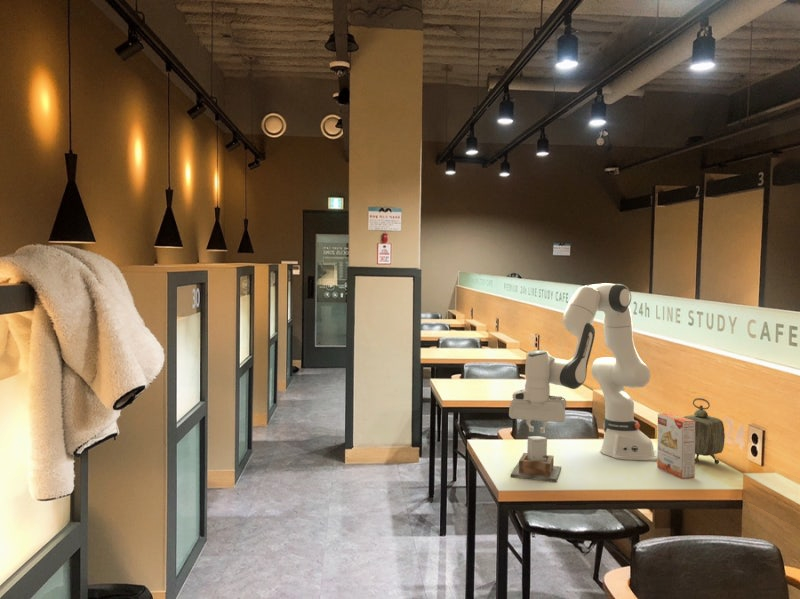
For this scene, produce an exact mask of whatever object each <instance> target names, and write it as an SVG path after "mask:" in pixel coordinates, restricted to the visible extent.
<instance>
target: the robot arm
mask: <svg viewBox="0 0 800 599" xmlns="http://www.w3.org/2000/svg"><path fill="white" fill-rule="evenodd" d="M631 302H632V293H631V290H630V289H629V288H628V286H626V285H624V284H621V283H607V282H604V283H595V284H592V283H591V284H590V283H589V284H586V285H583V286H581V287H578V289H577V290H576V291H575V292H574V294H573V295H572V297H571V298H570V300H569V302H568V304H567V306H566V308H565V310H564V312H563V315H562V324H563V326H564V327H565V329H566V330H567V331H568V332H570V333H571V334H572V335H573V336H575V337H576V338H577V342H576V345H575V349H574V352H573V356H572V357H571V358H570V359H562V358H556V357H554V356H552V355H551V354H549V351H547V350H543V349H537V350H536V349H535V350H532V351H529V352H528V353H527V355H526V358H525V359H526V360H525V368H524V369H525V370H524V375H525V379H526V380H525V384H524V389H520V390H516V391H514V392H513V393H512V400H511V401H510V404H509V409H508V410H509V411H508V416H509V418H511V419H515V420H516V419H517V420H525V424H526V425H527V427H528V432H529V433H534V430H535V429H534V427H535V426H533V425H531V424H532V423H531V421H540V422H542V424H543V427H541V426H540V427H539V433H540V434H545V432H546V431H545V429H546V427H547V425H548V423H549V422H552V423H564V422H565V421H566V407H567V400H566V398H564V397H563V396H558V395H557V396H555V395H550V394H551V392H550V391H551V389H550V388H551V387H550V384H552V385H556V386H562V387H564V388H568V389H572V390H576V389H578V388H579V387H581V386H582V385H583V384H584V383H585V382H586V379H587V372H588V371H587V370H588V365H589V361H590V356H591V353H592V348H593V345H594V340H595V334H596V330H595V328H594V326H593V325H594V324H593V321H594V319H595V317H596V314H597V312H603V336H604V337H603V338H604V340H603V341H604V345H605V346H606V348H607V349H609V351H610V352H611V353H612V354H613V356H614V357H609V356H607V357H606V356H605V357H599V358H596V359H595V360H594V361H593V363H592V365H591V375H592V376H593V379H594V380H596V381H597V383H598V384H599V386H600V388H601V391H602V393H603V397H604V408H605V409H604V415H605V416H604V418H603V433H604V435H603V440H602V441H603V442H602V444H601V449H600V452H601V454H603V455H605V456H609V457H613V458H614V459H617V460H632V461H651V462H654V461H657V453H658V450H654V444H653V442H652V440H651V438H649V437H648V435H646V434H645V433H643V432H642V431H641V430H640V428H641V425H640V423H639V421H638V420H635V419H634V415H635V413H634V412H635V410H634V409H635V403H634V400H633V398H632V397H631V396H630V395H629V394H628V392H626V390H625V387H626V388H632V389H633V388H634V389H635V388H636V389H637V388H644V387H646V386H647V384H649V382H650V380H651V371H650V368H649V367H648V365H647V364H646V363H645V362H644V361H643V360H642V359H641V358H640V356H639V354H638V352H637V350H636V346H635V344H634V334H633V333H634V331H633V319H632V318H633V317H632V312H631V307H630V305H631V304H632V303H631Z"/></svg>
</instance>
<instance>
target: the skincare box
mask: <svg viewBox="0 0 800 599" xmlns="http://www.w3.org/2000/svg"><path fill="white" fill-rule="evenodd" d="M547 446H548V439H547V437H545V436H539V435H538V436H536V435H534V436H527V452H526V453H527V460H530V461H539V462H547V455H548V454H547V452H548V447H547Z"/></svg>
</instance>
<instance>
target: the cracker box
mask: <svg viewBox="0 0 800 599" xmlns="http://www.w3.org/2000/svg"><path fill="white" fill-rule="evenodd" d="M657 452H658V453H657V460H656V461H657V463H656V464H657V466H656V467H657V468H658V469H660V470H662V471H665V472H666V473H669V474H671V475H673V476H674V477H677V478H680V479H681V480H683V479H684V480H685V479H692V478H695V476H696V466H695V465H696V462H695V459H696V454H695V421H693V420H690V419H687V418H684V416H681V415H677V414H675V413H672V412H667V413H666V412H665V413H664V412H663V413H661V412H660V413H657Z"/></svg>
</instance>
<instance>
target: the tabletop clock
mask: <svg viewBox="0 0 800 599" xmlns="http://www.w3.org/2000/svg"><path fill="white" fill-rule="evenodd" d="M699 400H700V401H703V402H705V403H707V405H708V406H706V407H703V405H701V404H700V405H699V406H698V405H696V404H695V402H696V401H699ZM692 404H693V406H694V407H695V408H697V409H696V410H695V411H694V412H693V414H691V415H685V416H683V417H684V418H687V419H690V420H693V421H695V455H696V456H695V464H696V463H697V464H698V463H699V462H700V459H699V456H705V457H708V456H710V457H712V459H713V460H714V463H715V464H716V465H718V464H719V463H720V460H719V459H716V456H715V455H717V454H721V453H723V450H724V447H725V441H726V440H725V439H726V437H725V436H726V435H725V426H724V422H723V420H722V419H720V418H719V417H718V418H717V417H715V416H714V417H713V416H711V415H709V414H708V412H707V411H706V410H708V409H709V408H710V407H711V404H710V401H708V400H707V399H705V398H703V397H702V398H701V397H697V398H694V400H692Z"/></svg>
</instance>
